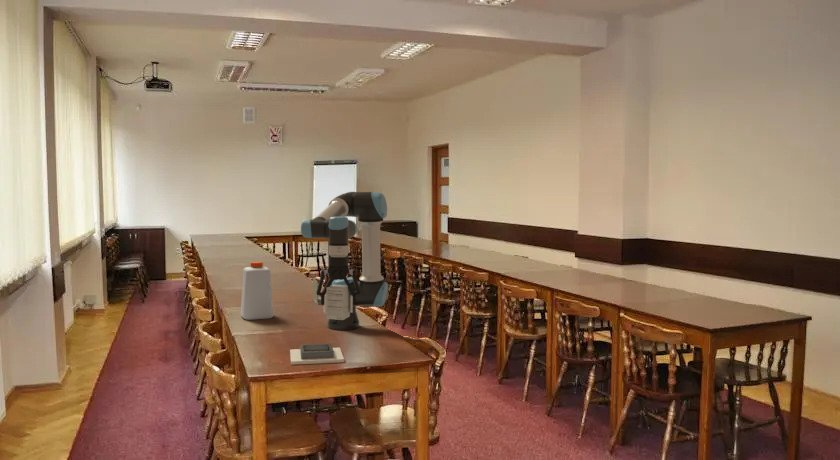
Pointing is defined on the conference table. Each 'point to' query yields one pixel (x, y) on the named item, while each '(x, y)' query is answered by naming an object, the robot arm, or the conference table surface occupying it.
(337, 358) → the base plate
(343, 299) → the supplement box
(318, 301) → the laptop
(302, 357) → the collar
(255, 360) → the conference table surface
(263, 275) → the plastic bottle
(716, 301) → the conference table surface
